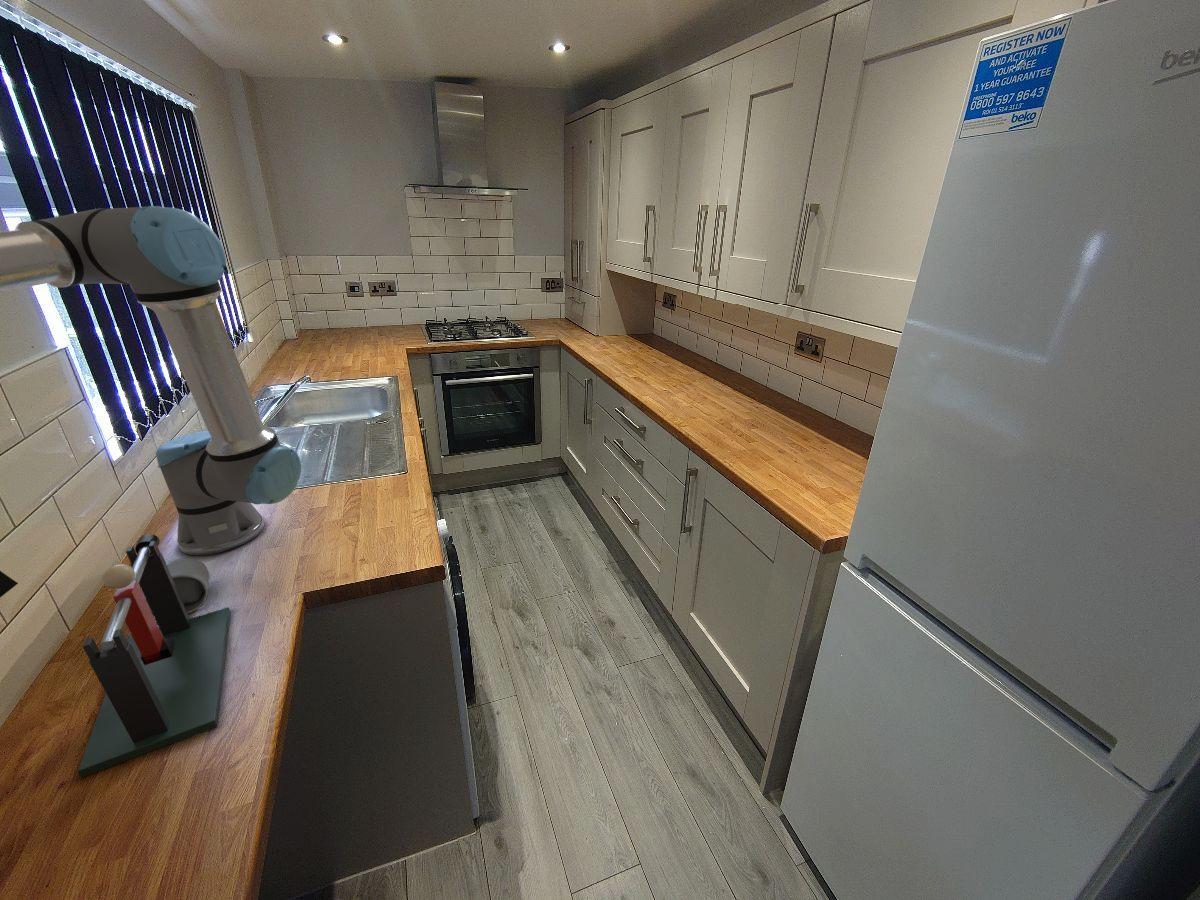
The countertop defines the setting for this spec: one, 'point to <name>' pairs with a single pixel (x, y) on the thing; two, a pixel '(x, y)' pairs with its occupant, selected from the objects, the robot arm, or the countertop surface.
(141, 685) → the foosball frame
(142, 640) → the foosball rod
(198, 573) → the ceramic mug
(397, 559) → the countertop surface
